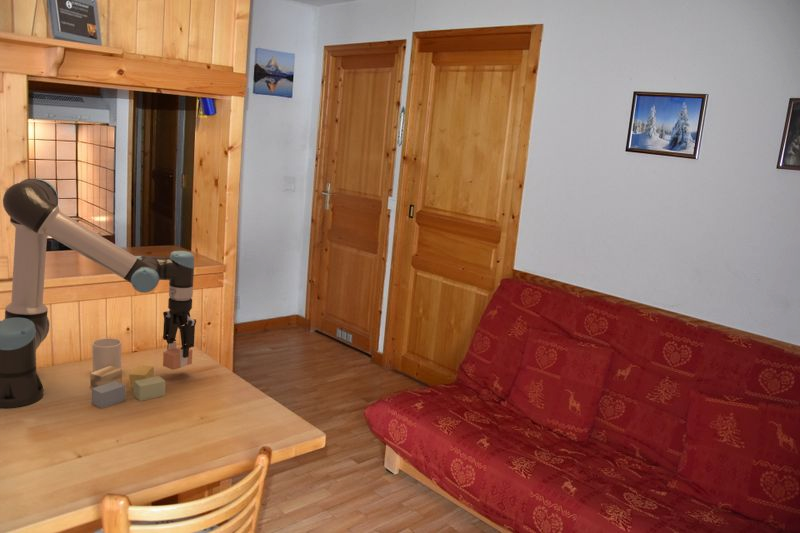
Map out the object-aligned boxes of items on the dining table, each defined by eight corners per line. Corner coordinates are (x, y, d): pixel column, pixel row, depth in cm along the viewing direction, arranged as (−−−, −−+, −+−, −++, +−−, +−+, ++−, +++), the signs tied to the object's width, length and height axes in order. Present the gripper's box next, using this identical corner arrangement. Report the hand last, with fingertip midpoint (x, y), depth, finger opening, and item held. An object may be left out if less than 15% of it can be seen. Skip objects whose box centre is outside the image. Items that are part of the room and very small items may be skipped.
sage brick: (133, 395, 206) (133, 380, 205) (158, 390, 212) (158, 375, 211) (140, 401, 203) (140, 386, 202) (165, 395, 208) (165, 381, 207)
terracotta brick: (163, 365, 220) (163, 351, 219) (181, 359, 227) (182, 346, 226) (173, 370, 218) (173, 355, 217) (191, 363, 224) (192, 350, 223)
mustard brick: (129, 388, 211) (129, 374, 210) (138, 379, 219) (138, 365, 218) (144, 389, 211) (145, 375, 210) (153, 380, 219) (153, 366, 218)
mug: (119, 378, 218) (119, 346, 215) (90, 379, 215) (90, 347, 213) (124, 365, 229) (124, 334, 226) (96, 365, 226) (96, 335, 224)
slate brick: (91, 403, 198) (91, 388, 197) (115, 395, 205) (115, 381, 204) (101, 408, 196) (101, 393, 195) (125, 400, 202) (125, 385, 201)
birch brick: (90, 387, 209) (90, 373, 208) (110, 379, 216) (110, 365, 215) (102, 391, 207) (101, 376, 206) (121, 383, 214) (121, 369, 213)
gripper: (153, 293, 218) (150, 358, 223) (190, 305, 210) (187, 373, 214) (171, 289, 225) (168, 353, 230) (208, 302, 216) (204, 368, 221)
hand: (177, 363), depth 222 cm, fingers closed on terracotta brick, 5 cm apart
